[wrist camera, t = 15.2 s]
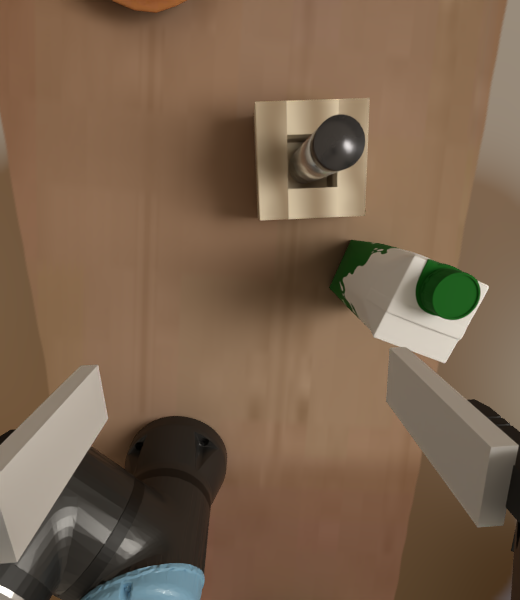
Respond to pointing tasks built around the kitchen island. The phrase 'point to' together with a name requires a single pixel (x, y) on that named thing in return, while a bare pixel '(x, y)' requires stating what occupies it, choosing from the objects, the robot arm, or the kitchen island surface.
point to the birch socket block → (286, 141)
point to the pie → (149, 4)
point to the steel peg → (328, 149)
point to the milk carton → (407, 297)
